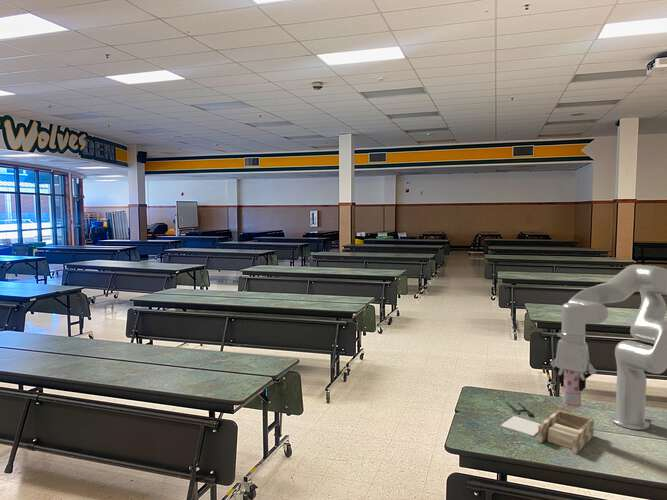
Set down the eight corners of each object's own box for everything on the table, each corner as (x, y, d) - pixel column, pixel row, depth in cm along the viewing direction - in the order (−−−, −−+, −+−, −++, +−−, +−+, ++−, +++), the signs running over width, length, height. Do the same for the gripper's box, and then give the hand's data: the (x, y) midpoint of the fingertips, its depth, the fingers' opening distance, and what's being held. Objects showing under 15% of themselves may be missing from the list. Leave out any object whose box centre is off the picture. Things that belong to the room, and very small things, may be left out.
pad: (513, 417, 185) (513, 415, 185) (545, 426, 176) (545, 425, 176) (500, 426, 176) (500, 425, 176) (532, 436, 168) (533, 435, 168)
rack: (557, 425, 177) (557, 409, 177) (593, 435, 169) (593, 419, 168) (537, 442, 164) (538, 425, 163) (576, 454, 155) (576, 436, 155)
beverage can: (560, 405, 168) (561, 364, 167) (566, 400, 172) (567, 360, 171) (577, 409, 164) (577, 367, 163) (583, 405, 168) (584, 364, 167)
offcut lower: (554, 436, 169) (554, 430, 169) (578, 444, 163) (578, 437, 163) (547, 442, 164) (547, 435, 164) (572, 450, 159) (572, 443, 159)
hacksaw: (535, 418, 185) (535, 414, 185) (509, 418, 185) (509, 414, 184) (511, 395, 209) (511, 392, 209) (488, 395, 209) (488, 392, 208)
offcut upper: (554, 429, 169) (555, 423, 168) (578, 437, 163) (578, 430, 163) (548, 435, 164) (548, 428, 164) (572, 442, 159) (572, 435, 159)
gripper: (544, 336, 170) (543, 384, 171) (596, 344, 158) (595, 396, 159) (551, 332, 175) (550, 379, 176) (603, 340, 163) (601, 390, 165)
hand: (572, 387), depth 168 cm, fingers closed on beverage can, 5 cm apart
